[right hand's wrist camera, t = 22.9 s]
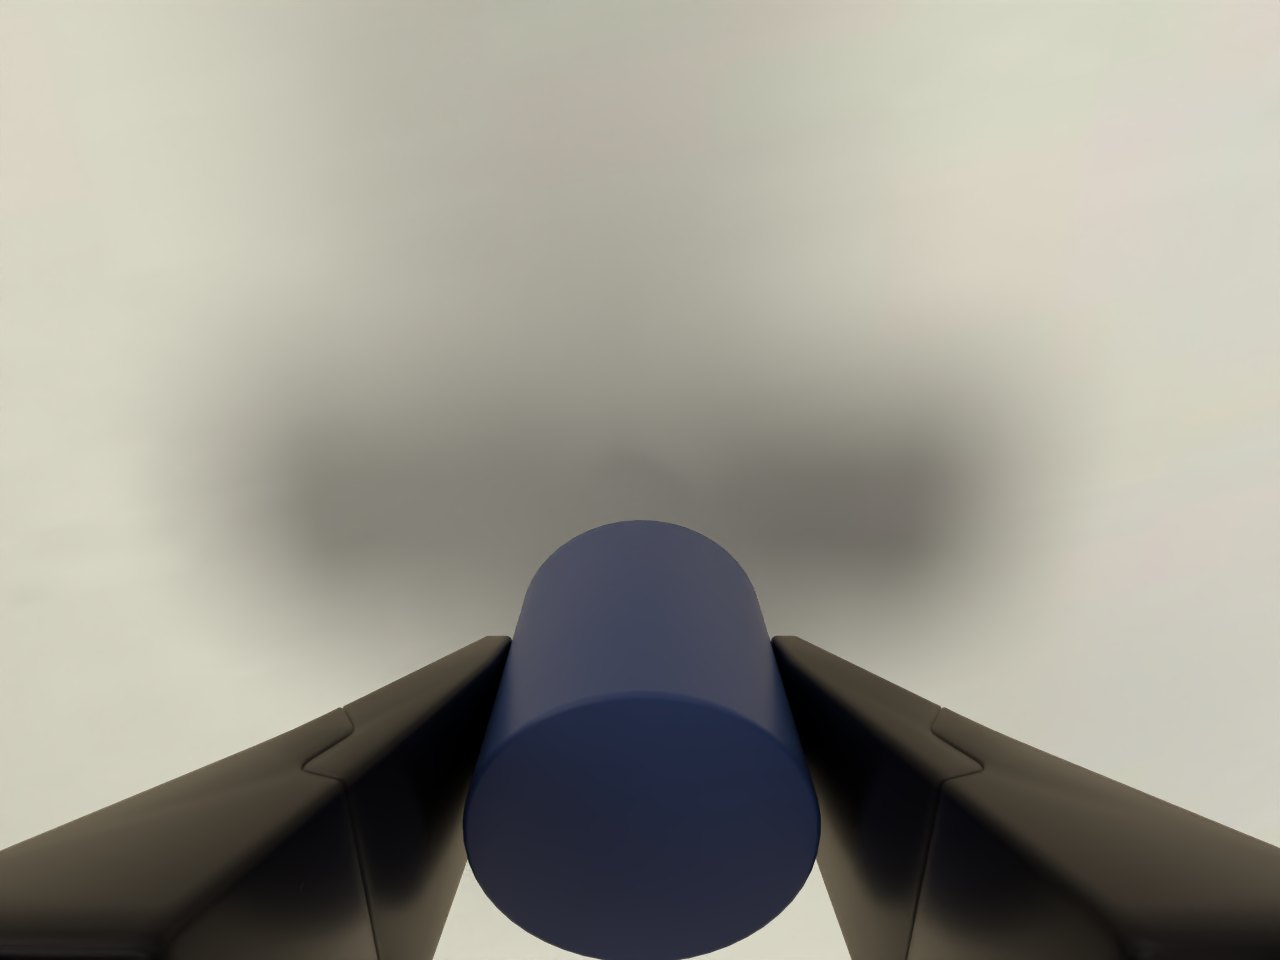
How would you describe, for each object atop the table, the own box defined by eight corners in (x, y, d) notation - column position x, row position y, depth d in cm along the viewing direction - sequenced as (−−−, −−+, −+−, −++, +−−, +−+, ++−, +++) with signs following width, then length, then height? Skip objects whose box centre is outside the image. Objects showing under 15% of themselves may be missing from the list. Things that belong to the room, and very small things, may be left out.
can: (532, 726, 13) (482, 969, 9) (510, 522, 12) (437, 699, 8) (756, 720, 13) (812, 962, 9) (764, 515, 12) (835, 689, 8)
